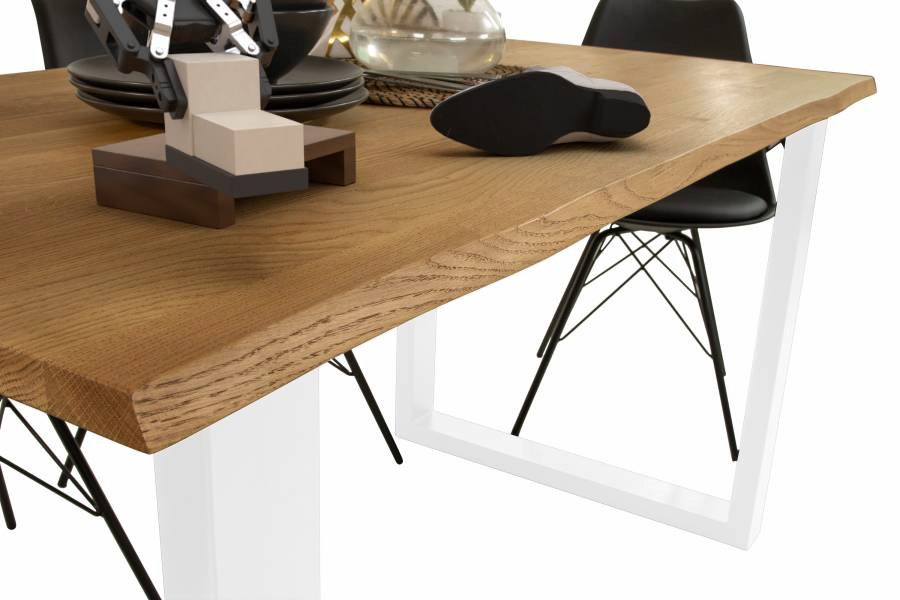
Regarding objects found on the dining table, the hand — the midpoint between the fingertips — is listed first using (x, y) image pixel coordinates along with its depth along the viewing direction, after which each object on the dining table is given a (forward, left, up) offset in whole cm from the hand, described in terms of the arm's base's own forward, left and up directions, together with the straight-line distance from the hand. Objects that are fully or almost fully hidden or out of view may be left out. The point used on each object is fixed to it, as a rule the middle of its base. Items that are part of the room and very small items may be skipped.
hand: (221, 109), depth 72 cm
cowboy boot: (+56, +14, -11) cm, 58 cm away
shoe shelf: (+13, +15, -11) cm, 23 cm away
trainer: (-1, -2, -5) cm, 5 cm away
